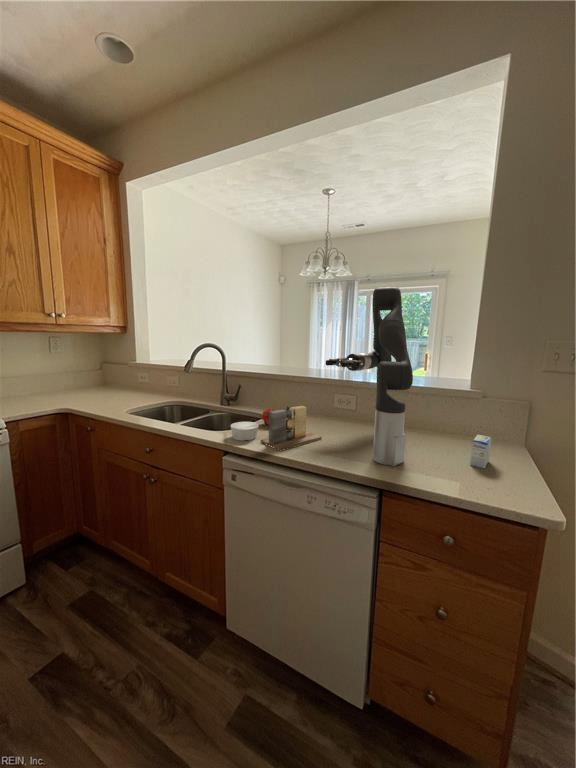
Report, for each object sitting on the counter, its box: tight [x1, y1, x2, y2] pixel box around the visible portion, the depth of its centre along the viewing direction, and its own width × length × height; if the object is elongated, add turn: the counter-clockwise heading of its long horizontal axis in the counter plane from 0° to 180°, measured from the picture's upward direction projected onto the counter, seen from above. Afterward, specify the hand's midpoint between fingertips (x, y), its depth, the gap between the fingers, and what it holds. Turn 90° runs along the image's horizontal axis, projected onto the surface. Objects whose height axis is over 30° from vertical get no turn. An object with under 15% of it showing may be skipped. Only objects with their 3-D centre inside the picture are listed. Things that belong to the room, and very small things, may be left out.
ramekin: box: [230, 421, 259, 441], centre depth 128 cm, size 11×11×5 cm
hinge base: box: [260, 405, 323, 451], centre depth 124 cm, size 12×22×14 cm, turn 131°
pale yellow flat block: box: [286, 405, 307, 439], centre depth 125 cm, size 3×10×12 cm, turn 131°
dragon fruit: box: [260, 407, 276, 426], centre depth 146 cm, size 8×8×12 cm
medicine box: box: [469, 434, 492, 469], centre depth 105 cm, size 8×4×9 cm, turn 141°
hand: (334, 363), depth 129 cm, fingers open, 8 cm apart
